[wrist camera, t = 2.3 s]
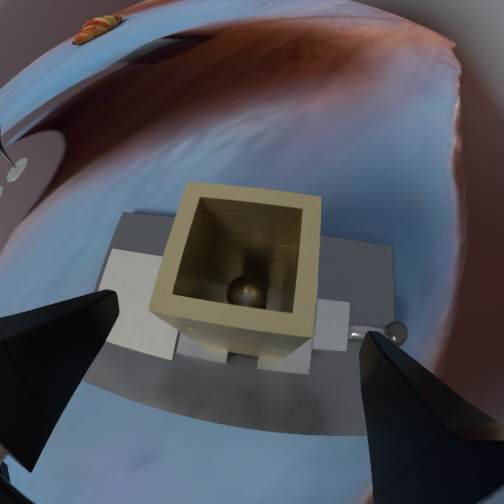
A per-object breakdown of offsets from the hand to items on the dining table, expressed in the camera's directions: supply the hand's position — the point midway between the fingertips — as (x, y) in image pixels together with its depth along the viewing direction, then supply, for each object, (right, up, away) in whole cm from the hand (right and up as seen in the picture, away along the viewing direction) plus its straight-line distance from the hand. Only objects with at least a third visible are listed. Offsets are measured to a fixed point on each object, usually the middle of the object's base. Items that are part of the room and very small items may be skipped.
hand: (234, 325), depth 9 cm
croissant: (-45, +69, +45) cm, 94 cm away
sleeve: (0, -1, +7) cm, 7 cm away
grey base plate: (0, -2, +10) cm, 10 cm away
